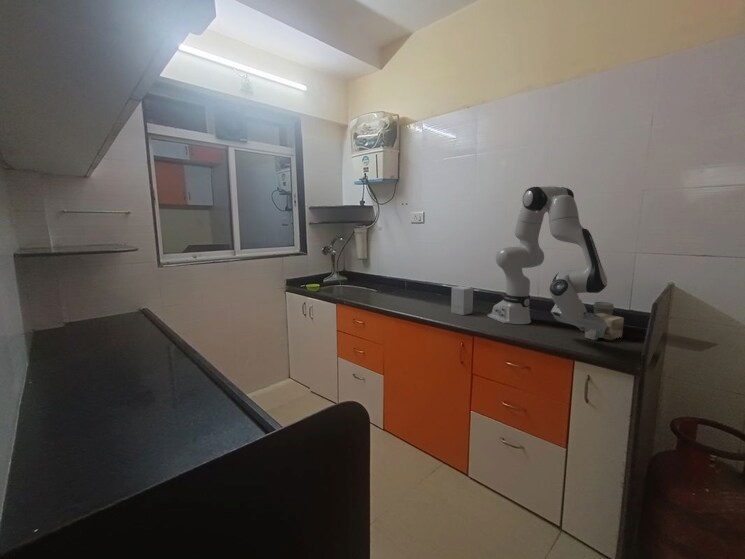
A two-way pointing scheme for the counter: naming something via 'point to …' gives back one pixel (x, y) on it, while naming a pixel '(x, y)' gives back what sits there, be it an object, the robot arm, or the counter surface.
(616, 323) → the block
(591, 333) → the grey elongated piece
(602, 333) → the pale teal block
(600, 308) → the coffee cup
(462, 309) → the supplement box
